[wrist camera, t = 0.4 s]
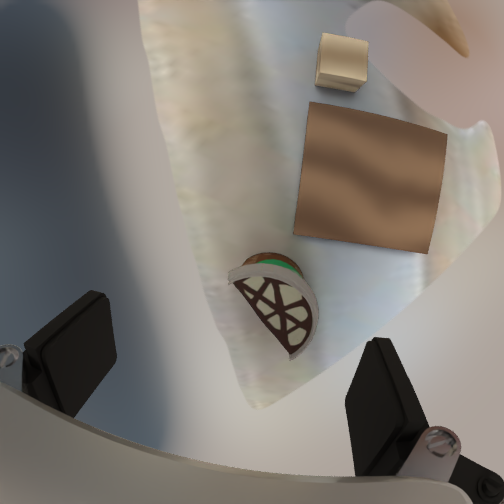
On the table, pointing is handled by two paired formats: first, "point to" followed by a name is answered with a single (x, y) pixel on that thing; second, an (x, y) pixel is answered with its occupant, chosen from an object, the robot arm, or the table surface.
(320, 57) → the birch block
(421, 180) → the walnut box
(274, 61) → the table surface
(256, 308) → the food container
